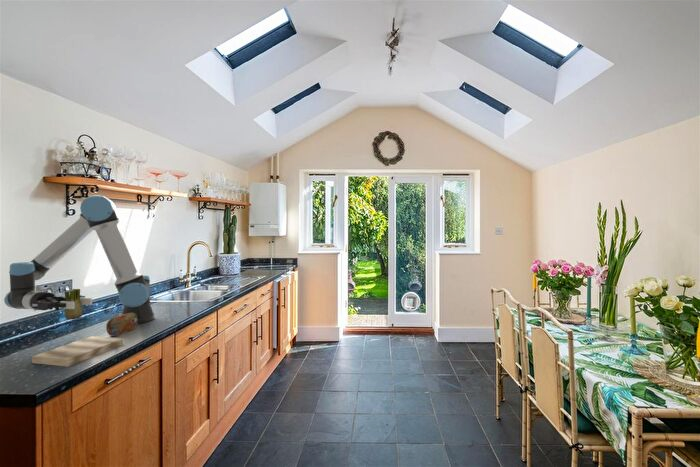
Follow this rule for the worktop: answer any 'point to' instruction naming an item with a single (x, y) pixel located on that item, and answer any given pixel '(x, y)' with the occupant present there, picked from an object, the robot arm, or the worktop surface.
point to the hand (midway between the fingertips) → (82, 303)
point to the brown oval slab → (122, 324)
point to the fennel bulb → (75, 298)
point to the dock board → (77, 351)
